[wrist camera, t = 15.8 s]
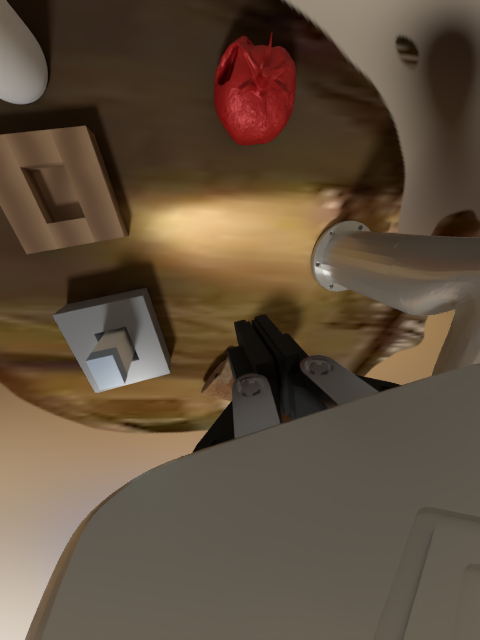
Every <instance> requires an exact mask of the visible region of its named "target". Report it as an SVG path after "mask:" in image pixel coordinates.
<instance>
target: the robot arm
mask: <svg viewBox="0 0 480 640" xmlns="http://www.w3.org/2000/svg"><path fill="white" fill-rule="evenodd" d="M311 267H312V273H313V275H314V278H315V279H316V281H317V282H318V283H319V284H320V285H321V286H322V287H324V288H326V289H328V290H330V291H344V290H347V289H350V290H352V291H355V292H357V293H360V294H362V295H364V296H367V297H369V298H371V299H374V300H376V301H379V302H381V303H383V304H386V305H388V306H391V307H393V308H396V309H398V310H401V311H403V312H406V313H409V314H413V315H423V316H425V315H435V314H439V313H444V312H448V311H451V310H454V309H455V315H454V318H453V321H452V323H451V327H450V330H449V332H448V335H447V337H446V339H445V342H444V344H443V346H442V349H441V351H440V354H439V356H438V359H437V362H436V364H435V367H434V370H433V373H432V376H430V377H427V378H424V379H421V380H417V381H414V382H411V383H407V384H404V385H399V384H395V383H391V382H387V381H382V380H377V379H372V378H368V377H363V376H358V375H354V374H353V373H352V372H350V371H349V370H347V369H346V368H344V367H343V366H342V365H340V364H339V363H337V362H336V361H335V360H333V359H331V358H329V357H326V356H322V355H313V356H308V355H307V354H306V353H305V352H304V351H303V350H302V348H301V347H300V346H299V345H298V344H297V343H296V342H295V341H294V340H293V339H292V337H291V336H290V335H289V334H287V333H286V334H282V333H281V332H280V331H279V330H278V328H277V327H276V326H275V325H274V324H273V323H272V321H271V320H270V319H269V318H268V317H267V316H266V315H261V316H257V317H255V320H252V325H251V323H250V322H249V321H248V322H246V321H245V320H241V321H237V322H234V325H235V331H236V336H237V341H238V345H239V346H237V347H234V348H230V349H227V354H228V359H229V363H230V367H231V371H232V375H233V378H234V383H233V385H232V401H231V402H230V404H229V405H228V406H227V407H226V409H225V410H224V411H223V413H222V414H221V415H220V416H219V418H218V419H217V420H216V421H215V423H214V424H213V425H212V426H211V428H210V429H209V430H208V432H207V433H206V434H205V435H204V437H203V438H202V439H201V441H200V442H199V443H198V444H197V446H196V448H195V449H194V451H193V453H191V454H188V455H185V456H182V457H180V458H177V459H174V460H172V461H169V462H166V463H164V464H162V465H160V466H157V467H155V468H153V469H151V470H149V471H147V472H145V473H143V474H142V475H140V476H138V477H136V478H135V479H133V480H131V481H130V482H128V483H127V484H125V485H124V486H122V487H121V488H120V489H118V490H117V491H115V492H114V493H112V494H111V495H110V496H108V497H107V498H106V499H105V500H104V501H102V502H101V503H100V504H99V505H98V506H97V507H96V508H95V509H94V510H92V511H91V512H90V514H89V515H88V516H87V517H86V518H85V519H84V520H83V521H82V522H81V524H80V525H79V527H78V528H77V529H76V531H75V532H74V533H73V535H72V537H71V538H70V540H69V542H68V543H67V545H66V547H65V549H64V551H63V553H62V555H61V557H60V559H59V561H58V563H57V565H56V567H55V569H54V571H53V573H52V576H51V578H50V580H49V582H48V585H47V587H46V589H45V591H44V594H43V596H42V599H41V601H40V604H39V606H38V608H37V611H36V613H35V616H34V618H33V621H32V623H31V625H30V628H29V631H28V633H27V636H26V639H25V640H480V238H464V237H442V236H427V235H412V234H399V233H384V232H371V231H370V229H369V228H368V227H367V226H366V225H364V224H363V223H361V222H358V221H342V222H339V223H336V224H334V225H333V226H331V227H330V228H328V229H327V230H326V231H325V232H324V233H323V234H322V235H321V237H320V238H319V239H318V241H317V243H316V245H315V247H314V250H313V254H312V259H311ZM281 411H282V413H283V414H284V416H286V415H288V416H289V418H290V419H291V420H290V421H287V422H284V423H282V417H281Z"/></svg>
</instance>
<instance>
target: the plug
mask: <svg viewBox="0 0 480 640" xmlns="http://www.w3.org/2000/svg"><path fill="white" fill-rule="evenodd" d="M134 353H135V348H134V345H133V343H132V340H131V338H130V335H129V333H128V331H127V328H126V327H122V328H118V329H113V330H109V331H105V333H104V335H103V336H102V338H101V339H100V341H99V342H98V344H97V345H96V347H95V348H94V350H93V351H92V353H90V355H89V357H88V358H87V360H86V363H87V365H88V367H89V369H90V371H91V373H92V375H93V377H94V379H95V381H96V383H97V385H98V387H99V389H100V390H103V389H107V388H111V387H115V386H119V385H123V384H125V382H126V379H127V376H128V375H127V374H128V371H129V368H130V365H131V362H132V359H133V356H134Z"/></svg>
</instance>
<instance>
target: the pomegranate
mask: <svg viewBox="0 0 480 640" xmlns="http://www.w3.org/2000/svg"><path fill="white" fill-rule="evenodd" d="M271 46H272V33H271V38H270V43H269V45H268V46H265V45H258V46H254V45H253V43H252V42H251V41H250V40H249V39H248V38H247V36H241V37H239V38H238V39H236V40H235V41H234V42H233V43H231V44H230V45H229V46H228V48H227V49H226V51H225V52H224V54H223V55H222V57H221V60H220V63H219V65H218V67H217V69H216V73H215V81H214V105H215V109H216V113H217V115H218V118H219V120H220V121H221V122H222V124H223V126H224V128H225V129H226V130H227V132H228V133H229V135H230V137H231V138H232V139H233V140H234V141H235V142H236V143H237V144H239V145H254V144H264V143H267V142H270V141H271V140H273V139H274V138H275V137H276V136H277V135H278V134H279V133H280V132H281V131H282V129H283V128H284V127H285V126H286V124H287V122H288V120H289V118H290V117H291V113H292V110H293V105H294V99H295V90H296V76H295V74H296V71H295V63H294V61H293V60H292V58H291V57H290V55H289V53H288V52H287V51H286V49H285V48H282V47H280V46H275V47H271Z"/></svg>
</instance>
